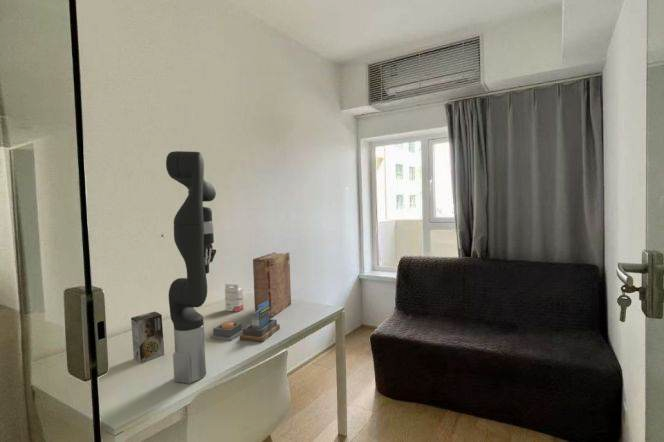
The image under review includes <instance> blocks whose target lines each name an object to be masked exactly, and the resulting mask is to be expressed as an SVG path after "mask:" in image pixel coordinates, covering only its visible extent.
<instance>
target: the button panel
mask: <svg viewBox="0 0 664 442" xmlns="http://www.w3.org/2000/svg"><path fill="white" fill-rule="evenodd" d="M221 324H222V323H221ZM221 324H218V325H217V326H215V327H213V328H212V333H213V334H210V335H209V339H212V340H213V339H214V340H224V341H233V340H235V339H236V338H238V337H240V335H241V334H242V333H243V323H241V322H234V326H233V327H232V328H230V329H227V328H222V325H221Z"/></svg>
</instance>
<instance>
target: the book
mask: <svg viewBox="0 0 664 442" xmlns="http://www.w3.org/2000/svg"><path fill="white" fill-rule="evenodd" d="M290 261H291V260H290V252H285V253H276V251H274V252H270V253H267V254H265V255H261V256H259V257H256V258H253V259H252V268H253V269H252V270H253V272H252V273H253V293H254V294H253V295H254V296H253V299H254V300H253V301H254V313H255V312H256V311H258V310H259V306H258V305H260V304H262V303H264V302H266V301H268V302H269V319H273V318H274V317H276V315H278V314H279V313H281V312H283V311H284V310H285V309H287V308H288V307H289V306H291V305H292V292H291V291H292V289H291V267H290V266H291V265H290ZM264 306H266V305H263V306H262V307H264Z"/></svg>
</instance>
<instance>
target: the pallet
mask: <svg viewBox="0 0 664 442" xmlns="http://www.w3.org/2000/svg"><path fill="white" fill-rule="evenodd" d="M277 321H278V320H277V319H273V318H269V324H268V325H266V326H265V327H263V328H262V329H261V330H260V329H252V322H251V323H250V324H248V325H247V326H245V327H242V329H243V333H242V334H241V335H239V340H240V341H248V342H256V343H257V342H259V343H264V342H266V340H268V339H269V338H270V337H272V335H274V334H275V333H277V331H279V330H280V329H281V326H280V324H278V323H277Z"/></svg>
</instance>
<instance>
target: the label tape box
mask: <svg viewBox="0 0 664 442" xmlns="http://www.w3.org/2000/svg"><path fill="white" fill-rule="evenodd" d="M263 305H266V306H264V307H262V306H263ZM258 306H259V310H258V311H256V312H255V311H254V312H253V313H252V314H251V323H252V329H260V330H261V329H262V328H263V327H265V326H266V325H268V324H269V319H270V318H269V302H268V301H266V302H264V303H262V304H260V305H258Z"/></svg>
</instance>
